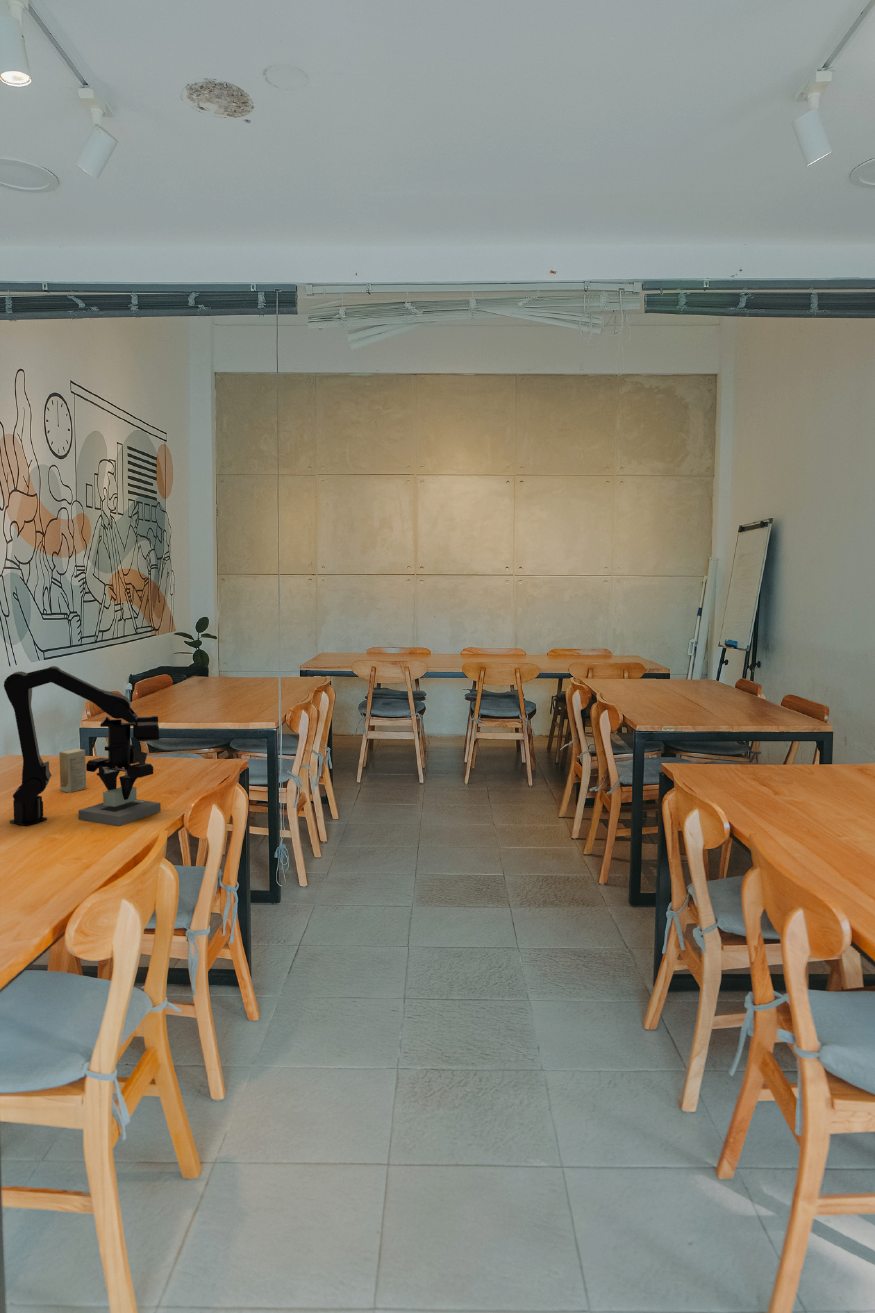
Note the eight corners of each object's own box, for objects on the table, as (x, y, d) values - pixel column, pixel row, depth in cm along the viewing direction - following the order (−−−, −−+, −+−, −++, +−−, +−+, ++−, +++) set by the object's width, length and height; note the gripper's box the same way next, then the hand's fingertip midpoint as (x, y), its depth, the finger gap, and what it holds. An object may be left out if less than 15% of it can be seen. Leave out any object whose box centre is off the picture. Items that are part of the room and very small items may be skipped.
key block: (136, 799, 223) (136, 787, 223) (114, 806, 216) (114, 793, 216) (125, 798, 225) (125, 785, 225) (103, 805, 218) (103, 792, 217)
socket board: (119, 826, 211) (119, 816, 211) (78, 819, 216) (78, 809, 216) (160, 811, 225) (160, 802, 225) (121, 805, 231) (121, 796, 230)
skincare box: (78, 787, 251) (77, 748, 250) (87, 789, 249) (86, 749, 248) (59, 791, 246) (58, 751, 245) (68, 793, 243) (67, 753, 242)
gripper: (167, 740, 223) (167, 796, 224) (115, 734, 230) (115, 788, 231) (138, 747, 213) (138, 805, 214) (84, 740, 220) (85, 797, 221)
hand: (119, 798), depth 220 cm, fingers closed on key block, 4 cm apart
